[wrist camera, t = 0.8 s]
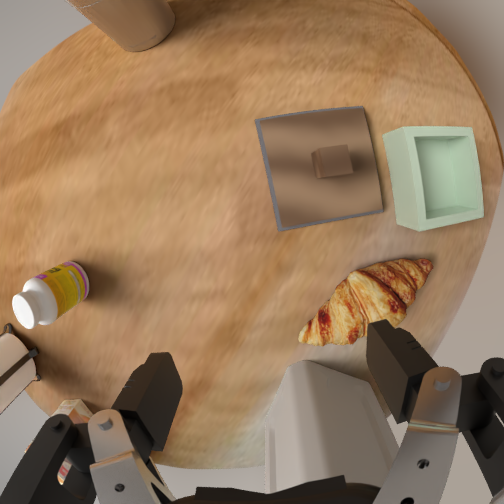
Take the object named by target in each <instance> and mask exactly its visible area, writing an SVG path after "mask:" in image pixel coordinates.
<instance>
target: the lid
mask: <svg viewBox="0 0 504 504" xmlns="http://www.w3.org/2000/svg"><path fill="white" fill-rule="evenodd" d="M260 126H261V130H262V134H263V139H264V143H265V148H266V152H267V157H268V162H269V166H270V171H271V176H272V180H273V185H274V190H275V195H276V200H277V205H278V210H279V215H280V220H281V225H282V228H284V227H290V226H295V225H300V224H305V223H310V222H316V221H321V220H326V219H332V218H337V217H343V216H348V215H354V214H359V213H365V212H370V211H376V210H382V209H383V206H382V199H381V192H380V186H379V180H378V174H377V168H376V163H375V158H374V153H373V148H372V144H371V139H370V135H369V130H368V126H367V122H366V118H365V114H364V111H363V108H354V109H341V110H330V111H321V112H312V113H304V114H297V115H290V116H284V117H278V118H272V119H266V120H261V121H260Z"/></svg>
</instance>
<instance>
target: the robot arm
mask: <svg viewBox="0 0 504 504" xmlns="http://www.w3.org/2000/svg"><path fill="white" fill-rule="evenodd" d="M65 1H66V2H67V3H69V4H70V5H71V6H73V7H74V8H75V9H77V10H78V11H79V12H80V13H81V14H83V15H84V16H85V17H86V18H88V19H89V20H90V21H91V22H92V23H94V24H95V25H96V26H97V27H98V28H100V29H101V30H102V31H103V32H104V33H106V34H107V35H108V36H109V37H110V38H111V39H112V40H114V41H115V42H116V43H117V44H118V45H119V46H120V47H122V48H123V49H124V50H126V51H130V52H138V51H143V50H146V49H149V48H151V47H153V46H155V45H156V44H158V43H160V42H161V41H162V40H163V39H165V38H166V36H167V35H168V34H169V33H170V32H171V30H172V29H173V26H174V24H175V15H174V13H173V11H172V9H171V8H170V6H169V4H168V2H167V0H65ZM366 357H367V363H368V367H369V369H370V371H371V373H372V375H373V377H374V379H375V381H376V383H377V385H378V387H379V389H380V391H381V393H382V395H383V396H384V398H385V400H386V402H387V404H388V406H389V409H390V411H391V413H392V415H393V416H394V419H395V421H396V422H397V424H399V423H402V422H405V421H407V422H408V424H409V425H408V428H407V430H406V433H405V436H404V438H403V441H402V443H401V446H400V448H399V451H398V453H397V456H396V458H395V460H394V462H393V465H392V467H391V469H390V471H389V473H388V475H387V477H386V479H385V481H384V483H383V485H382V487H378V486H375V485H371V484H365V483H354V482H350V483H346V481H345V476H344V475H340V476H336V477H331V478H326V479H321V480H315V481H309V482H305V483H303V484H300V485H297V486H294V487H291V488H288V489H284V490H281V491H278V492H274V493H270V494H264V493H258V492H251V491H245V490H240V489H234V488H214V487H197V488H196V493H195V495H192V496H187V497H183V498H180V499H176V498H175V497H174V496H173V495H172V493H171V492H170V490H169V489H168V487H167V485H166V483H165V482H164V480H163V478H162V477H161V475H160V473H159V471H158V469H157V467H156V466H155V464H154V462H153V460H152V458H151V457H150V453H151V450H154V451H163V449H164V446H165V443H166V440H167V437H168V434H169V431H170V428H171V425H172V422H173V419H174V416H175V413H176V410H177V407H178V404H179V401H180V398H181V395H182V390H183V387H182V381H181V379H180V376H179V374H178V371H177V369H176V366H175V364H174V361H173V359H172V356H171V354H170V353H168V352H161V353H151V354H150V355H149V357H148V358H147V360H146V362H145V363H144V364H142V365H140V366H139V367H138V368H137V369H136V370H134V371H133V373H132V374H131V376H130V378H129V379H128V381H127V382H126V384H125V386H124V387H125V388H123V389H122V391H121V392H120V394H119V396H118V397H117V399H116V401H115V402H114V404H113V406H112V408H111V409H105V410H101V411H99V412H97V413H95V414H94V415H93V416H92V417H91V418H90V420H89V422H88V423H78V424H74V423H73V421H72V420H71V419H70V417H69V416H68V415H66V414H56V415H54V416H52V417H50V418H49V419H48V420H47V421H46V422H45V424H44V425H43V426H42V428H41V430H40V431H39V433H38V434H37V436H36V437H35V439H34V440H33V442H32V443H31V445H30V447H29V448H28V450H27V451H26V453H25V455H24V456H23V458H22V459H21V461H20V463H19V464H18V466H17V468H16V470H15V471H14V473H13V475H12V476H11V478H10V480H9V482H8V483H7V485H6V487H5V489H4V491H3V493H2V495H1V496H0V504H93V503H94V501H95V498H96V495H97V496H98V499H99V503H100V504H439V502H440V499H441V496H442V494H443V491H444V488H445V485H446V482H447V478H448V475H449V472H450V468H451V464H452V461H453V457H454V453H455V448H456V444H457V439H458V434H459V432H462V434H463V435H464V437H465V439H466V441H467V443H468V445H469V447H470V449H471V451H472V453H473V455H474V457H475V459H476V461H477V463H478V465H479V467H480V469H481V471H482V473H483V475H484V478H485V480H486V482H487V484H488V486H489V489H490V491H491V494H492V496H493V498H492V500H491V502H490V504H504V427H503V425H502V424H501V422H500V421H499V419H498V418H497V416H496V415H495V414H496V413H497V414H498V416H499V417H500V418H501V420H502V422H503V423H504V359H503V358H490V359H488V360H486V361H485V362H484V363H483V365H482V367H481V370H480V372H479V373H474V374H469V375H463V376H460V374H459V373H458V372H457V371H455V370H454V369H452V368H449V367H439V366H438V365H437V364H436V362H435V361H434V360H433V359H432V358H431V357H430V355H429V354H428V353H427V352H426V351H425V349H424V348H423V347H421V345H420V344H419V343H418V341H416V339H415V338H414V337H413V336H412V335H411V333H410V332H408V331H406V330H404V329H402V328H396V329H395V328H394V327H393V326H392V325H391V324H390V322H389V321H388V320H387V319H383V320H379V321H375V322H371V323H369V324H368V326H367V351H366ZM65 458H66V459H67V460H68V461H69V462H70V463H71V464H72V465H71V467H70V469H69V471H68V473H67V476H66V478H65V480H64V482H63V484H62V485H61V484H60V482H59V480H58V472H59V470H60V468H61V466H62V464H63V462H64V460H65Z"/></svg>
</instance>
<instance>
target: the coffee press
mask: <svg viewBox="0 0 504 504" xmlns="http://www.w3.org/2000/svg"><path fill="white" fill-rule="evenodd" d="M7 325H8V326H9V333H5V332H6V329H7ZM11 332H12V326H11V324H9V323H8V324H6V325H5V327H4V331H3V333H2V334H1V335H2V336H1V335H0V414H1V413H2V412H3V411H4V410H5V409H6V408H7V407H8V406H9V405H10V404H11V403H12V402H13V401H14V399H15V398H16V397H17V396H18V395H19V394H20V393H21V392H22V391H23V390H24V389H25V388H26V387H27V386H28V385H29V384H30V383H31V382H32V381H40V379H41V378H40V376H39V375H37V374H36V367H35V363H34V361H33V358H32V357H34V356H36V355H37V354H39V351H38V349H37V348H36V347H34V348H32V349H30V350H27V348H26V347H25V345H24V344H23V343H22V342H21V341H20V340H19V339H18V338H17V337H16V336H14V335H12V333H11ZM4 333H5V334H4ZM35 375H36V376H37V378H38V379H37V380H33V379H34V378H35Z"/></svg>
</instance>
